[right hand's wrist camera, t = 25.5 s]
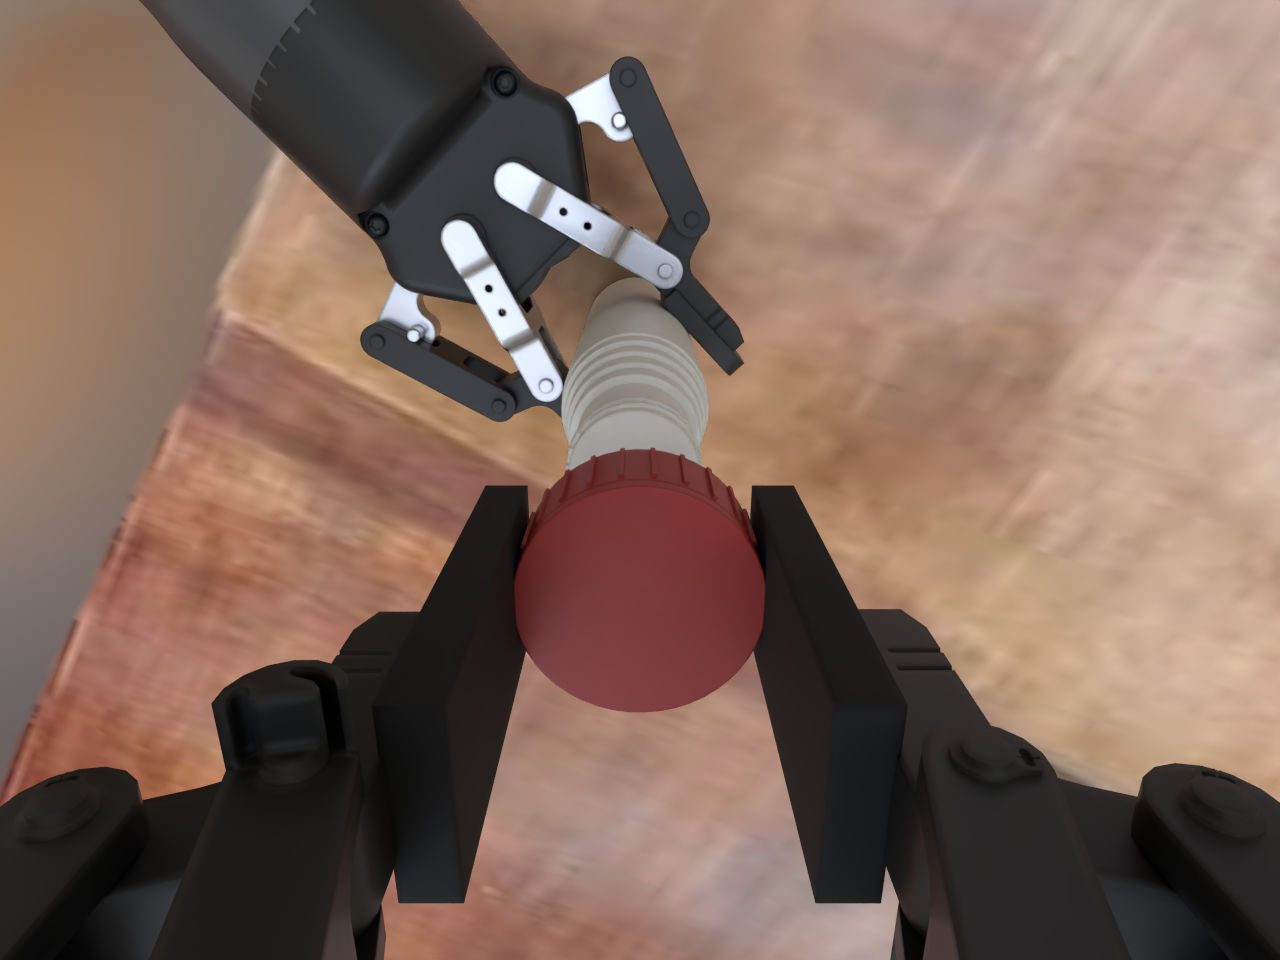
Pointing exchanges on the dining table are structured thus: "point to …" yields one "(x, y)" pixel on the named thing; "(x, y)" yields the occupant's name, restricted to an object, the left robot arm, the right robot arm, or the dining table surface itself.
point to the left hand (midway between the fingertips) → (684, 406)
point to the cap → (639, 582)
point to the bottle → (633, 379)
